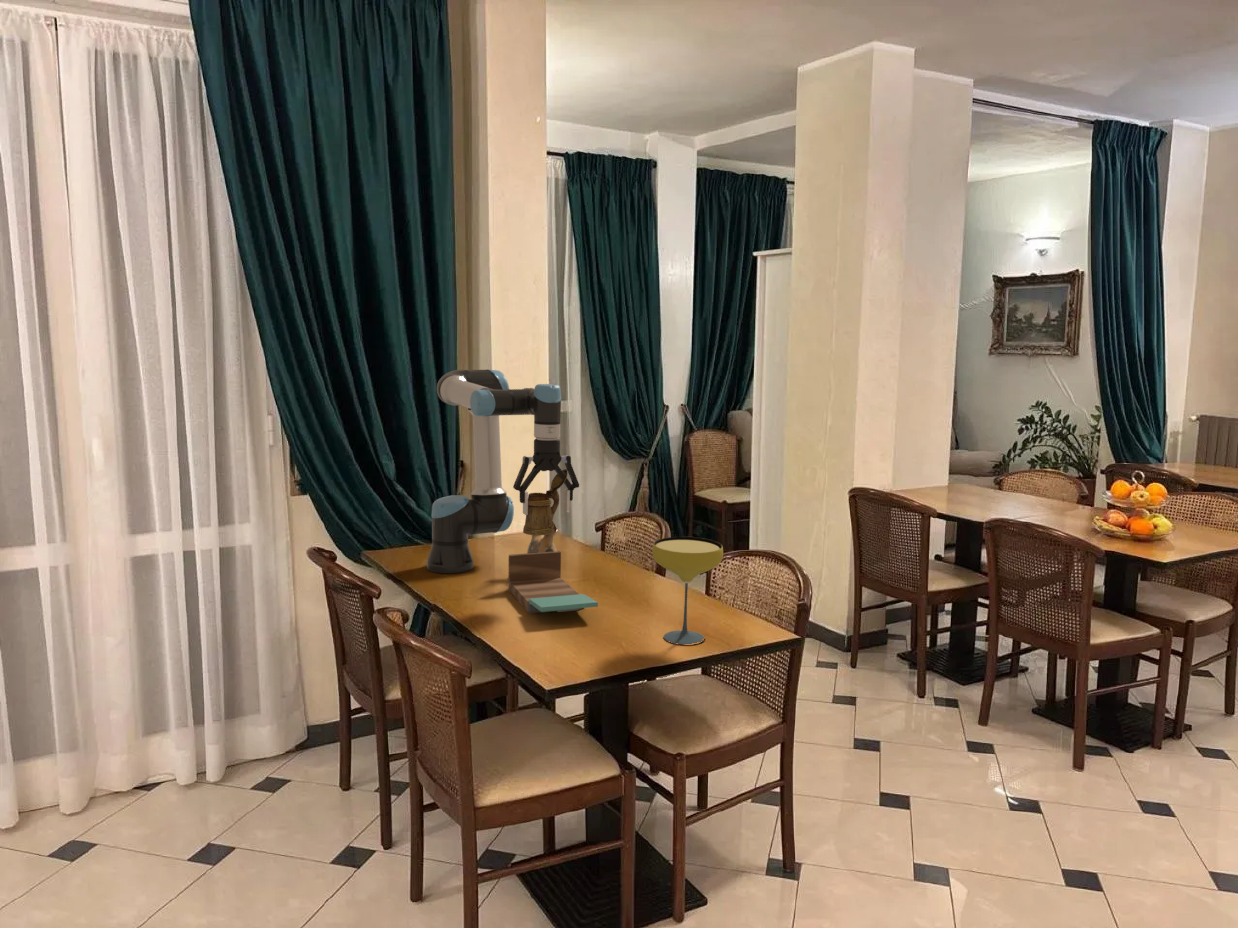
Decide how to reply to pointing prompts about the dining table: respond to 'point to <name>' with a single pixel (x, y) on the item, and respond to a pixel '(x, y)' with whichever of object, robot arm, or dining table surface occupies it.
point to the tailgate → (563, 603)
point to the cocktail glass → (686, 570)
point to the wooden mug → (543, 509)
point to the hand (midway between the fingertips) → (546, 512)
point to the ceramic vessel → (542, 543)
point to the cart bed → (536, 578)
